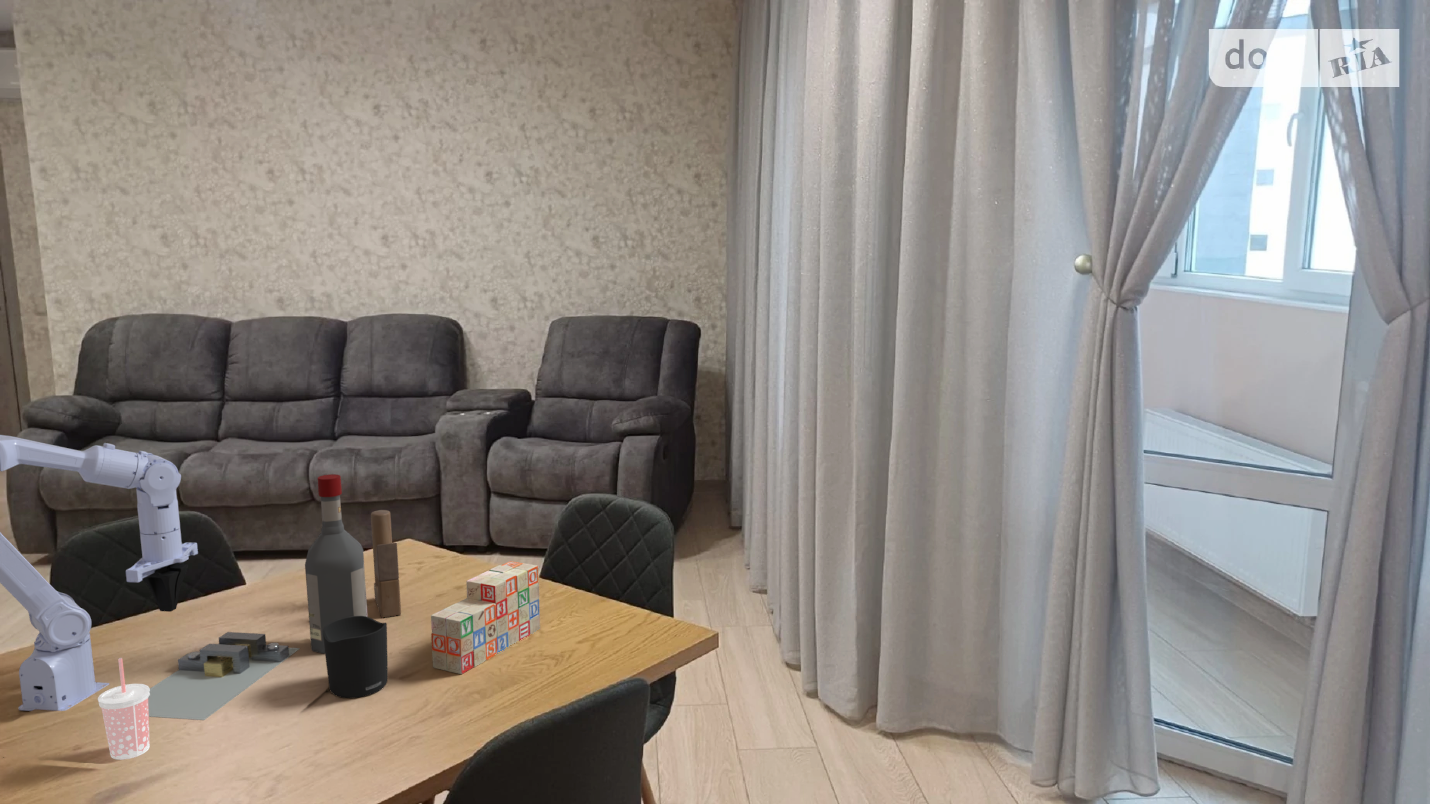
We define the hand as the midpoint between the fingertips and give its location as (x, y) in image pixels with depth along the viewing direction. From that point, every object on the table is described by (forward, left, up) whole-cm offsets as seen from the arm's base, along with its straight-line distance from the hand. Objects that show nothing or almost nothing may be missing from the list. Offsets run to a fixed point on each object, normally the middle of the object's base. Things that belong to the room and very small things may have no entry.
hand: (168, 609), depth 165 cm
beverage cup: (-27, -13, -10) cm, 32 cm away
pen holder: (-3, -34, -10) cm, 36 cm away
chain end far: (+4, -12, -9) cm, 16 cm away
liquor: (+12, -23, -10) cm, 28 cm away
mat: (-5, -10, -10) cm, 15 cm away
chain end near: (-1, -8, -9) cm, 12 cm away
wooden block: (+30, -23, -10) cm, 39 cm away
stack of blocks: (+14, -49, -10) cm, 52 cm away
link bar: (+2, -10, -9) cm, 14 cm away
